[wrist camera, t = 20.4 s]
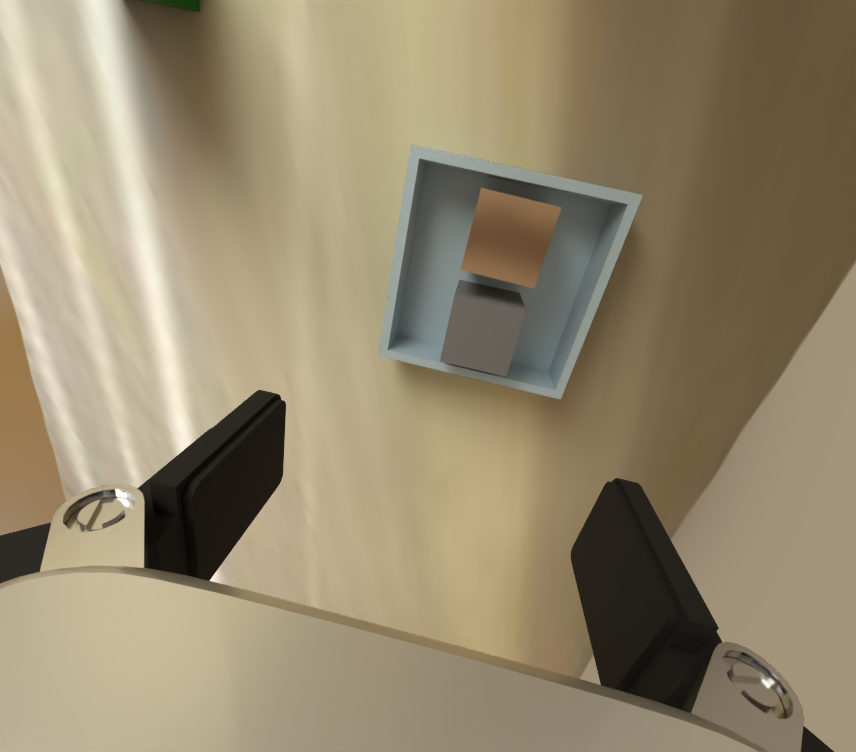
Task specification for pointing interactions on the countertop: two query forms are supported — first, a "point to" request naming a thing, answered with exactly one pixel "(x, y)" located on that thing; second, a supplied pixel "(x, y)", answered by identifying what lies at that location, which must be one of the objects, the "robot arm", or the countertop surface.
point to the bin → (545, 303)
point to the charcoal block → (483, 328)
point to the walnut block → (509, 237)
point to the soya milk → (179, 3)
